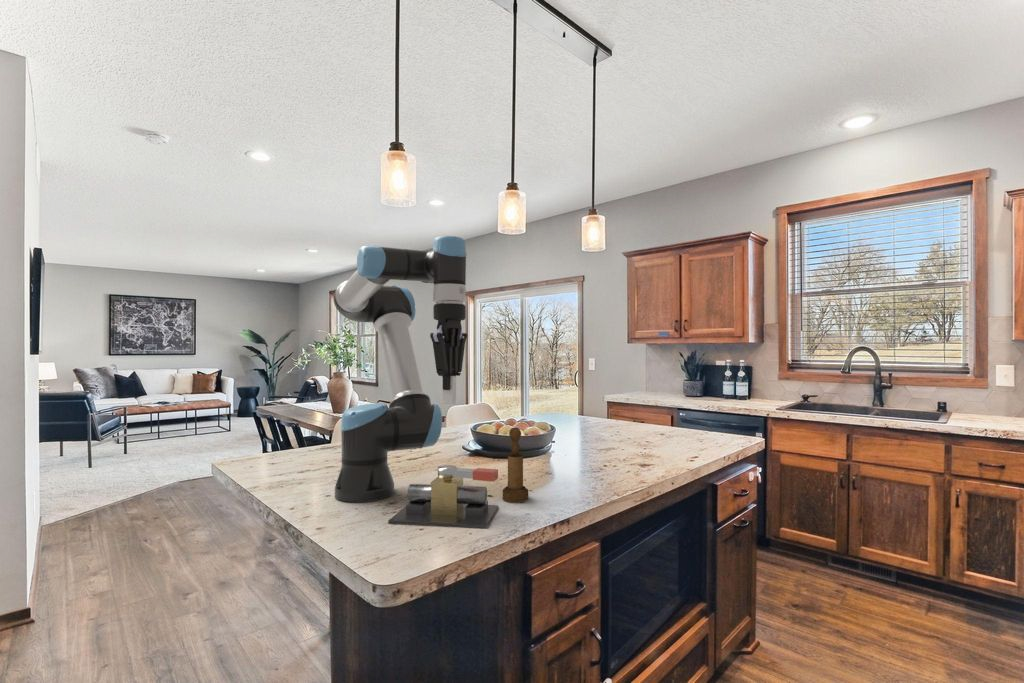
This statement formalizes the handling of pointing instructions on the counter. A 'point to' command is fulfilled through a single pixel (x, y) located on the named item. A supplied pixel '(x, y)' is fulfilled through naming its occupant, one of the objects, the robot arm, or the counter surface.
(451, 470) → the lever
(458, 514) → the valve
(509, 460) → the brown pepper mill
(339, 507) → the counter surface
